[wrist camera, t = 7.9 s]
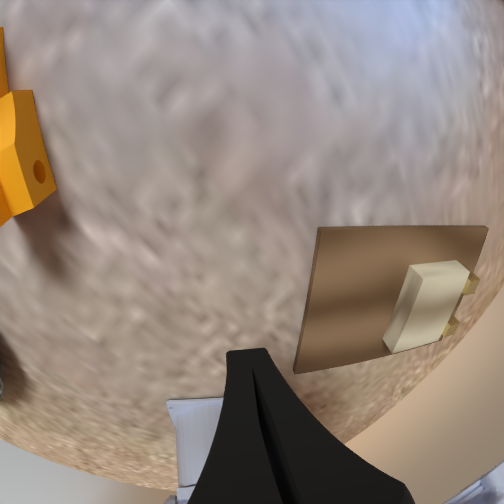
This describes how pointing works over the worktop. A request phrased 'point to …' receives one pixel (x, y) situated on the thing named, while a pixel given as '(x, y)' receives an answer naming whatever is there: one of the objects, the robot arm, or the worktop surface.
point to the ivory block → (425, 304)
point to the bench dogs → (468, 289)
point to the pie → (1, 384)
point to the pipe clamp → (20, 151)
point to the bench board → (369, 286)
